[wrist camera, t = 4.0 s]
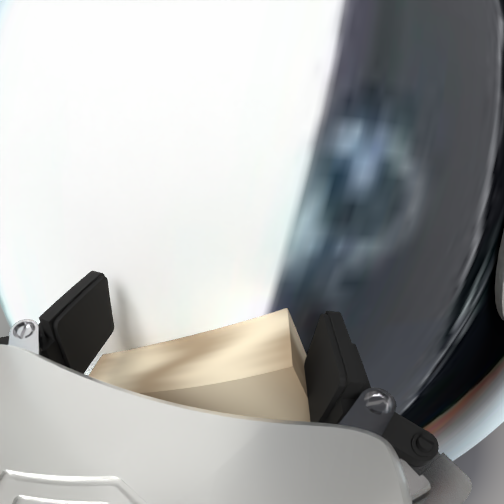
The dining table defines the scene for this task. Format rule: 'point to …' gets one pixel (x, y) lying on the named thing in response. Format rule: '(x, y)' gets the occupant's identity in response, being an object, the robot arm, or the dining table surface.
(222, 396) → the birch block
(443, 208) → the dining table surface
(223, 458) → the robot arm
